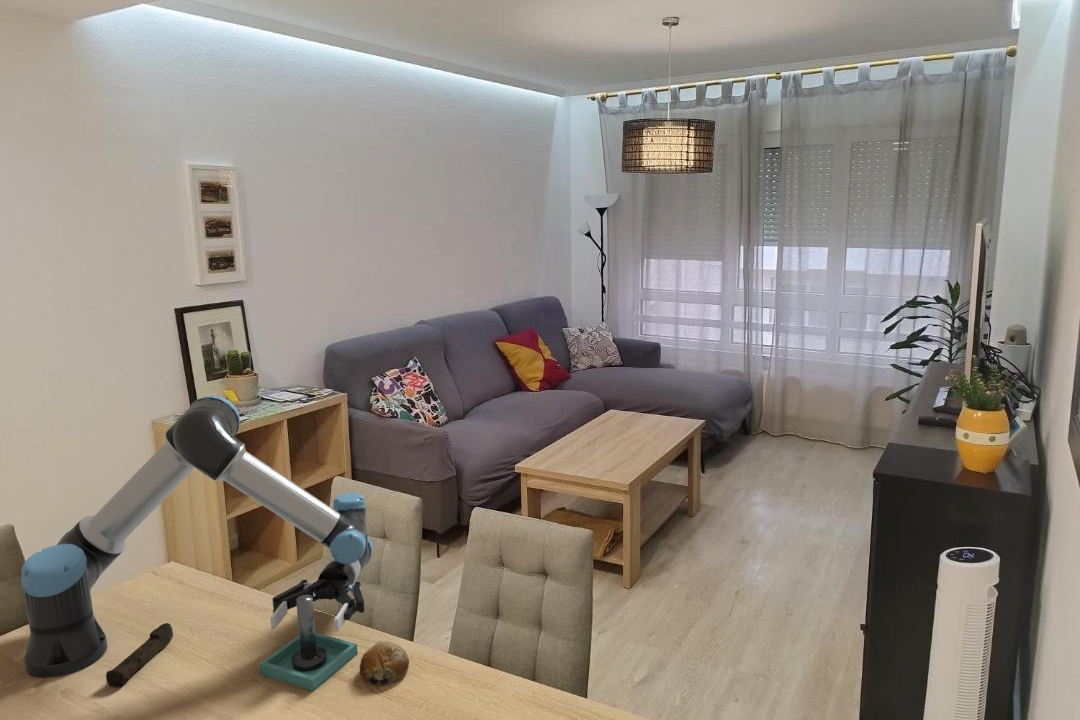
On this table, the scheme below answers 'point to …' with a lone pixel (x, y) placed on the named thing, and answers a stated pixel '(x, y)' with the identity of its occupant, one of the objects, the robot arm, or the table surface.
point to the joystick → (307, 638)
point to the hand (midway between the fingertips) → (304, 624)
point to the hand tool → (140, 656)
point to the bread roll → (384, 663)
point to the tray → (284, 671)
